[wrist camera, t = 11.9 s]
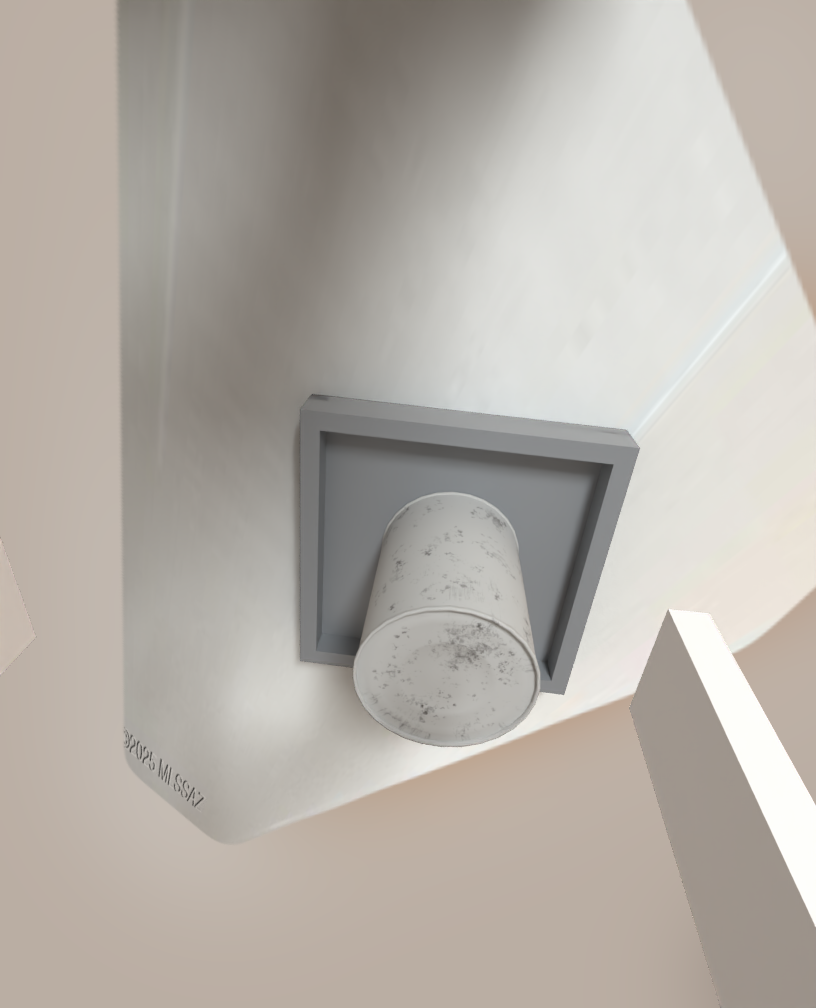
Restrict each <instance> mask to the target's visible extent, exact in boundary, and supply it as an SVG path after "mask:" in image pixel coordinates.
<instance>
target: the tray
mask: <svg viewBox="0 0 816 1008" xmlns="http://www.w3.org/2000/svg"><path fill="white" fill-rule="evenodd" d="M639 449H640V448H639V446H638V445H637V443H636V442H635V441H634V439H633V438H632V437H631V435H630V434H629V432H628V431H627V430H623V429H614V428H605V427H596V426H588V425H579V424H570V423H561V422H552V421H544V420H535V419H526V418H517V417H508V416H500V415H491V414H482V413H473V412H464V411H456V410H447V409H438V408H429V407H420V406H412V405H403V404H394V403H385V402H376V401H368V400H359V399H350V398H341V397H332V396H324V395H315V394H312V395H311V396H310V397H309V398H308V400H307V401H306V402H305V404H304V405H303V406H302V407H301V409H300V661H305V662H313V663H320V664H328V665H336V666H344V667H352V668H353V666H354V659H355V656H356V654H357V651H358V649H359V645H360V641H361V637H362V632H363V628H364V623H365V619H366V615H367V610H368V606H369V602H370V597H371V593H372V589H373V584H374V580H375V575H376V571H377V567H378V562H379V558H380V554H381V548H382V540H383V535H384V533H385V530H386V528H387V525H388V523H389V522H390V521H391V519H392V518H393V517H394V515H395V514H396V513H397V512H398V511H399V510H400V509H402V508H403V507H404V506H405V505H406V504H408V503H409V502H411V501H413V500H415V499H417V498H419V497H421V496H425V495H429V494H433V493H437V492H459V493H465V494H470V495H473V496H476V497H478V498H481V499H484V500H485V501H487V502H488V503H490V504H492V505H493V506H495V507H496V508H498V509H499V510H500V511H501V512H502V513H503V514H504V516H505V517H506V518H507V519H508V520H509V522H510V524H511V525H512V527H513V529H514V530H515V534H516V537H517V541H518V549H519V559H520V565H521V571H522V577H523V583H524V590H525V596H526V602H527V608H528V614H529V620H530V626H531V632H532V638H533V644H534V650H535V656H536V659H537V663H538V666H539V669H540V691H539V692H546V693H554V694H562V695H564V693H565V690H566V687H567V684H568V680H569V677H570V674H571V671H572V667H573V664H574V661H575V658H576V654H577V651H578V648H579V645H580V641H581V638H582V635H583V632H584V628H585V625H586V622H587V619H588V615H589V612H590V609H591V606H592V602H593V599H594V596H595V593H596V589H597V586H598V583H599V580H600V576H601V573H602V570H603V567H604V563H605V560H606V557H607V554H608V550H609V547H610V544H611V541H612V537H613V534H614V531H615V528H616V524H617V521H618V518H619V515H620V511H621V508H622V505H623V502H624V498H625V495H626V492H627V488H628V485H629V482H630V479H631V475H632V472H633V469H634V466H635V462H636V459H637V456H638V453H639Z"/></svg>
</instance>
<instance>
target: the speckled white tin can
mask: <svg viewBox="0 0 816 1008" xmlns="http://www.w3.org/2000/svg"><path fill="white" fill-rule="evenodd" d="M353 681H354V686H355V691H356V693H357V695H358V697H359V699H360V701H361V703H362V705H363V707H364V708H365V709H366V710H367V711H368V713H369V714H370V715H371V716H372V717H373V719H375V720H376V721H377V722H379V723H380V724H381V725H382V726H384V727H385V728H386V729H388V730H389V731H391V732H393V733H395V734H397V735H399V736H401V737H403V738H406V739H409V740H412V741H415V742H418V743H421V744H426V745H433V746H439V747H463V746H470V745H476V744H481V743H484V742H487V741H490V740H493V739H496V738H498V737H500V736H502V735H504V734H506V733H507V732H509V731H511V730H513V729H514V728H515V727H516V726H517V725H519V724H520V723H521V722H522V721H523V720H524V719H525V718H526V717H527V716H528V714H529V713H530V711H531V710H532V708H533V707H534V705H535V703H536V700H537V697H538V694H539V691H540V669H539V666H538V663H537V659H536V656H535V650H534V644H533V638H532V632H531V626H530V620H529V614H528V608H527V602H526V596H525V590H524V583H523V577H522V571H521V565H520V559H519V549H518V541H517V537H516V534H515V530H514V529H513V527H512V525H511V524H510V522H509V520H508V519H507V518H506V517H505V516H504V514H503V513H502V512H501V511H500V510H499V509H498V508H496V507H495V506H493V505H492V504H490V503H488V502H487V501H485V500H484V499H481V498H478V497H476V496H473V495H470V494H465V493H459V492H437V493H433V494H429V495H425V496H421V497H419V498H417V499H415V500H413V501H411V502H409V503H408V504H406V505H405V506H404V507H403V508H402V509H400V510H399V511H398V512H397V513H396V514H395V515H394V517H393V518H392V519H391V521H390V522H389V523H388V525H387V528H386V530H385V533H384V535H383V540H382V548H381V554H380V558H379V562H378V567H377V571H376V575H375V580H374V584H373V589H372V593H371V597H370V602H369V606H368V610H367V615H366V619H365V623H364V628H363V632H362V637H361V641H360V645H359V649H358V651H357V654H356V656H355V659H354V666H353Z"/></svg>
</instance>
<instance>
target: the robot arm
mask: <svg viewBox="0 0 816 1008" xmlns="http://www.w3.org/2000/svg"><path fill="white" fill-rule="evenodd" d="M35 638H36V635H35V632H34V629H33V627H32V624H31V621H30V618H29V615H28V613H27V610H26V607H25V604H24V602H23V599H22V596H21V593H20V590H19V588H18V585H17V582H16V579H15V576H14V573H13V571H12V568H11V565H10V562H9V560H8V557H7V554H6V551H5V548H4V545H3V543H2V540H1V537H0V675H1V674H2V673H3V672H4V671H5V670H6V669H7V668H8V667H9V666H10V665H11V664H12V663H13V662H14V661H15V659H16V658H17V657H18V656H19V655H20V654H21V653H22V652H23V651H24V650H25V649H26V648H27V646H28V645H29V644H30V643H31V642H32V641H33V640H34V639H35ZM629 709H630V712H631V715H632V718H633V722H634V725H635V728H636V732H637V735H638V738H639V741H640V745H641V748H642V751H643V755H644V757H645V761H646V764H647V768H648V771H649V774H650V778H651V781H652V784H653V787H654V791H655V794H656V797H657V800H658V804H659V807H660V810H661V814H662V817H663V820H664V824H665V827H666V830H667V833H668V837H669V840H670V843H671V846H672V850H673V853H674V856H675V859H676V863H677V866H678V869H679V873H680V876H681V879H682V883H683V886H684V889H685V893H686V895H687V899H688V902H689V905H690V909H691V912H692V916H693V918H694V922H695V925H696V929H697V932H698V935H699V938H700V942H701V945H702V948H703V951H704V954H705V958H706V961H707V965H708V968H709V971H710V975H711V978H712V981H713V984H714V987H715V991H716V994H717V997H718V1001H719V1004H720V1008H816V805H815V804H814V802H813V800H812V798H811V796H810V794H809V793H808V791H807V789H806V787H805V786H804V784H803V782H802V780H801V778H800V776H799V775H798V773H797V771H796V769H795V767H794V766H793V764H792V762H791V760H790V758H789V757H788V755H787V753H786V751H785V749H784V747H783V746H782V744H781V742H780V740H779V739H778V737H777V735H776V733H775V731H774V730H773V728H772V726H771V724H770V722H769V720H768V719H767V717H766V715H765V713H764V711H763V710H762V708H761V706H760V704H759V702H758V700H757V699H756V697H755V695H754V693H753V692H752V690H751V688H750V686H749V684H748V683H747V681H746V679H745V677H744V675H743V673H742V672H741V670H740V668H739V666H738V665H737V663H736V661H735V659H734V657H733V655H732V653H731V652H730V650H729V648H728V646H727V644H726V643H725V641H724V639H723V637H722V635H721V634H720V632H719V630H718V628H717V626H716V625H715V623H714V621H713V619H712V617H711V615H710V614H709V613H700V612H691V611H682V610H673V609H668V611H667V613H666V616H665V618H664V621H663V623H662V626H661V629H660V631H659V634H658V636H657V639H656V641H655V644H654V646H653V649H652V651H651V654H650V656H649V659H648V662H647V664H646V667H645V669H644V672H643V674H642V677H641V679H640V682H639V684H638V687H637V690H636V692H635V695H634V697H633V700H632V702H631V705H630V707H629Z"/></svg>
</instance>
